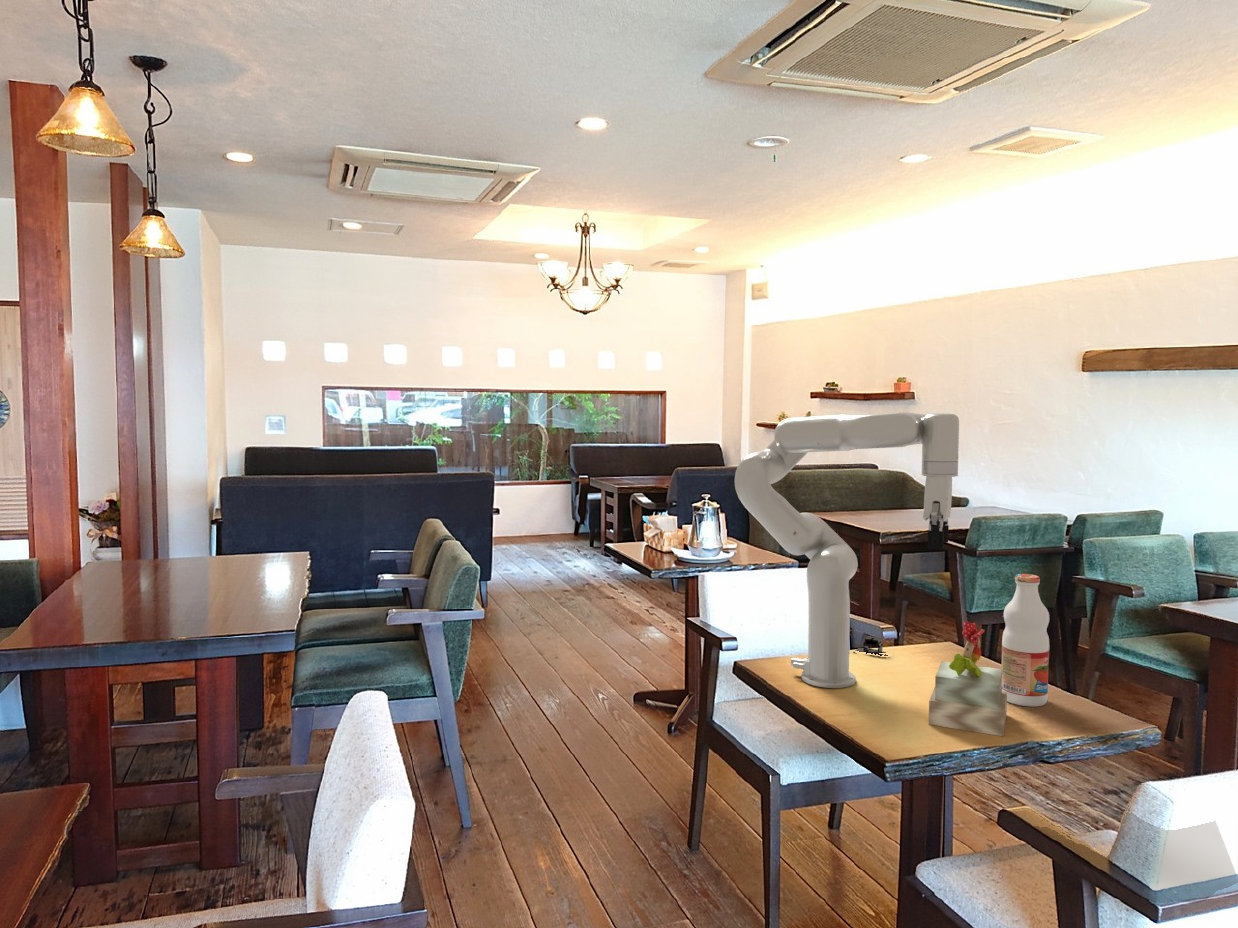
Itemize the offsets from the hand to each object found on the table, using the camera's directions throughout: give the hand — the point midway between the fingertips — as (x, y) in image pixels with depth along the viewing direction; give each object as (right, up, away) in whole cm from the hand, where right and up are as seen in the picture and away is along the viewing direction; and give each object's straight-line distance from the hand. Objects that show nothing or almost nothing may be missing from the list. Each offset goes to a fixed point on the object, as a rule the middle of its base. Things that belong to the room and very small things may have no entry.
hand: (938, 545), depth 187 cm
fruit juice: (+19, -35, -1) cm, 39 cm away
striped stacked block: (+2, -35, -12) cm, 37 cm away
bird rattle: (+1, -26, -13) cm, 29 cm away
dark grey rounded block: (-4, -33, +35) cm, 48 cm away
